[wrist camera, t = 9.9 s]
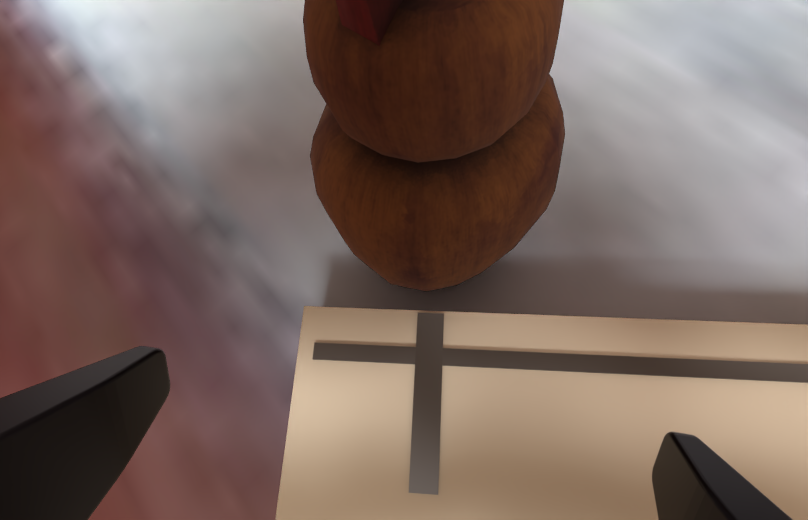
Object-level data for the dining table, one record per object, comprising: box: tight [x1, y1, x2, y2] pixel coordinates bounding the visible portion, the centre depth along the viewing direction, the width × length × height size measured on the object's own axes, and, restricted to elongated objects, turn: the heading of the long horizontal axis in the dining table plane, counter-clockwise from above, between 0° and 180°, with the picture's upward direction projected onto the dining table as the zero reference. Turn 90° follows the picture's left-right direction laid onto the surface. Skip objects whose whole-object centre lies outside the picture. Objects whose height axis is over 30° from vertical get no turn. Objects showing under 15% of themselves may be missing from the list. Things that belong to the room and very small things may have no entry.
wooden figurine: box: [303, 0, 565, 291], centre depth 11 cm, size 7×6×15 cm
